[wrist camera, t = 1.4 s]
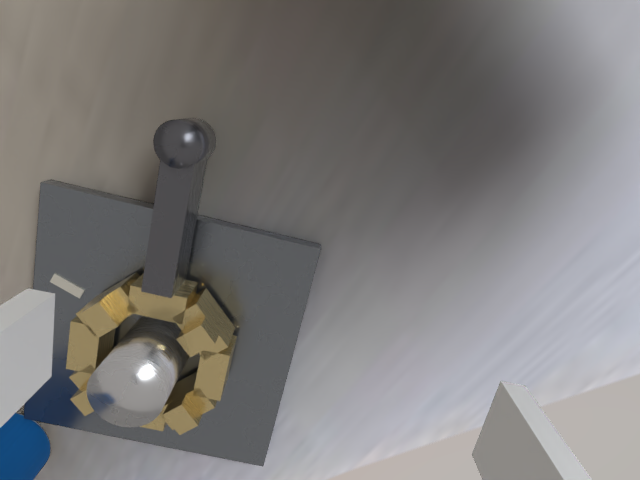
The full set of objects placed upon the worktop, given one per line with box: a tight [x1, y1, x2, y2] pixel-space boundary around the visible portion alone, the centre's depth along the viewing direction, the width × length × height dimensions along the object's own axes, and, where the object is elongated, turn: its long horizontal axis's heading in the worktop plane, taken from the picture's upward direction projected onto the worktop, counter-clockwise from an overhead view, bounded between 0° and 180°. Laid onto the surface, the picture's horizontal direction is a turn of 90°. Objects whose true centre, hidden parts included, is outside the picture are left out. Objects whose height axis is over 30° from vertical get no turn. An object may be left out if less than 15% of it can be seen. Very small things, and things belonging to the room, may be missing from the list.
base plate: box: [24, 180, 321, 466], centre depth 32 cm, size 20×20×8 cm
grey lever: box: [66, 118, 237, 435], centre depth 30 cm, size 22×11×4 cm, turn 166°
